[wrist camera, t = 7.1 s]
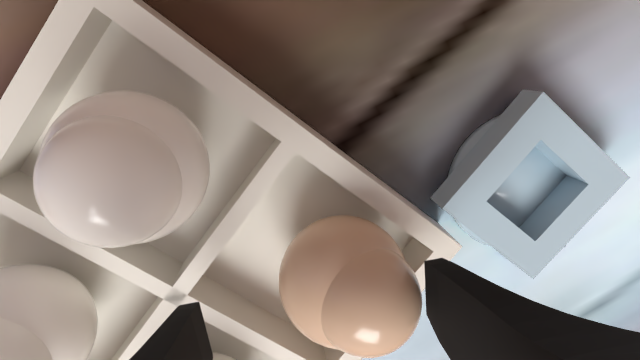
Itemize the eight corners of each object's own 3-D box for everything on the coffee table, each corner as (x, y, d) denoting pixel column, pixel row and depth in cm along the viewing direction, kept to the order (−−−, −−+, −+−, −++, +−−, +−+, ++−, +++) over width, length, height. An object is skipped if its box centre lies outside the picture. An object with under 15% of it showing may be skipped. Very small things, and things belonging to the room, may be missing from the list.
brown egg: (268, 323, 15) (344, 428, 11) (248, 220, 14) (328, 294, 9) (361, 279, 18) (457, 353, 13) (353, 185, 16) (459, 232, 12)
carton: (-91, 313, 15) (-149, 354, 13) (112, -23, 13) (80, -39, 11) (237, 455, 19) (232, 502, 17) (438, 223, 17) (462, 246, 15)
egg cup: (418, 196, 16) (433, 210, 15) (516, 79, 15) (543, 81, 14) (510, 266, 18) (532, 286, 16) (605, 165, 17) (638, 175, 15)
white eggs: (-34, 309, 15) (-193, 441, 10) (128, 56, 13) (34, 55, 8) (226, 427, 18) (209, 572, 13) (386, 238, 16) (440, 320, 11)
